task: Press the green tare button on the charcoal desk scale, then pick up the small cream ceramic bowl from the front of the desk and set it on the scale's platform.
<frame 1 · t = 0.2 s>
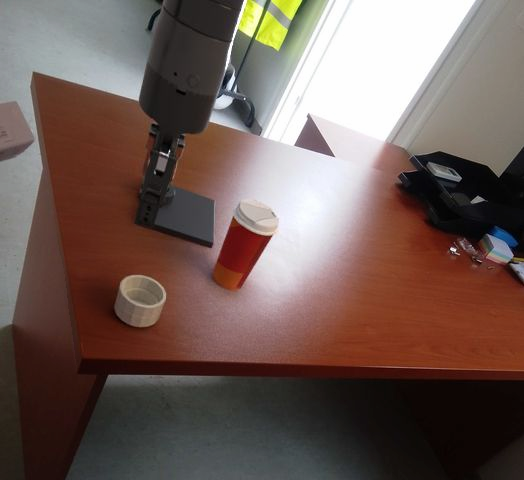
hand: (147, 206, 57), 15 cm above the table, tool pointing down, fingers open, 8 cm apart
scale: (177, 213, 86), on the table
bowl: (136, 313, 66), on the table
paper cup: (226, 279, 80), on the table
tare button: (159, 184, 84), point 3 cm above the table, slide at 0.1 cm
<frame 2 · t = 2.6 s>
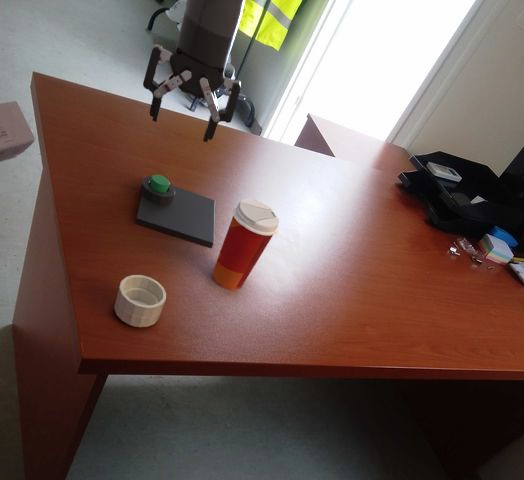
hand: (180, 130, 75), 15 cm above the table, tool pointing down, fingers open, 8 cm apart
nothing on the table moved.
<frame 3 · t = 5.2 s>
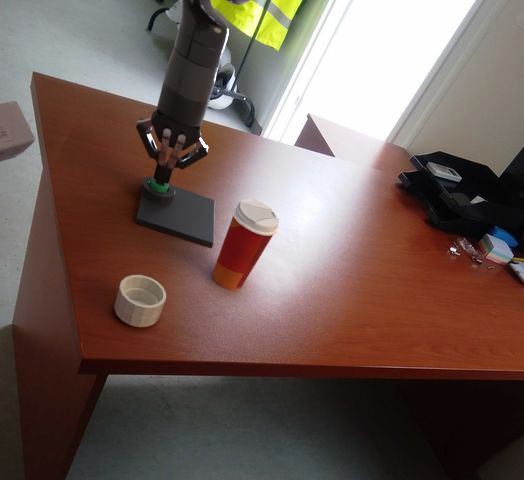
hand: (160, 182, 84), 4 cm above the table, tool pointing down, fingers closed
tare button: (158, 186, 84), point 3 cm above the table, slide at -0.4 cm, touching gripper
everything else where it was.
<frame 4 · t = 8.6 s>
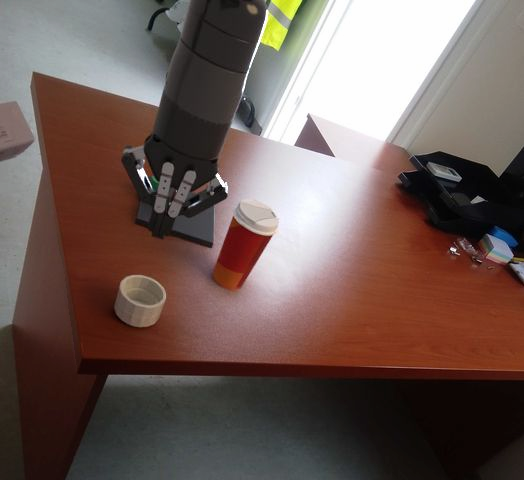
hand: (157, 234, 58), 13 cm above the table, tool pointing down, fingers closed
tare button: (159, 184, 84), point 3 cm above the table, slide at 0.1 cm
everything else where it was.
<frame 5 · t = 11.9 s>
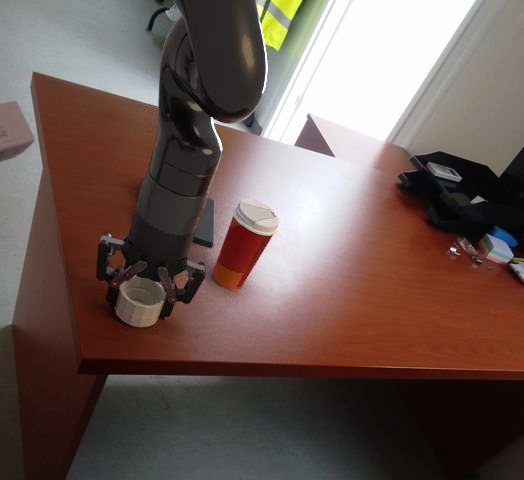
hand: (137, 309, 65), 1 cm above the table, tool pointing down, fingers closed on bowl, 6 cm apart
bowl: (136, 313, 66), on the table, touching gripper
everything else where it was.
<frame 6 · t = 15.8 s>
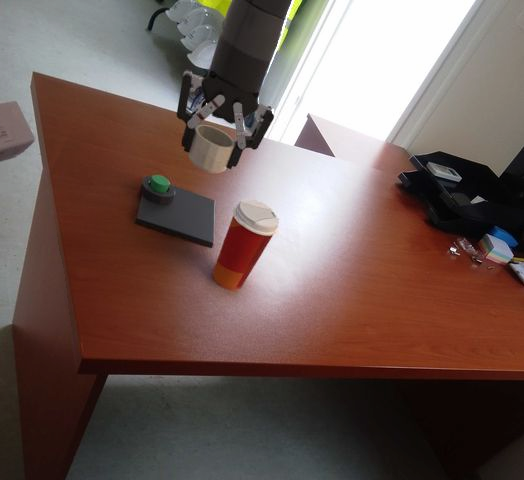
hand: (208, 158, 71), 16 cm above the table, tool pointing down, fingers closed on bowl, 6 cm apart
bowl: (206, 163, 72), point 15 cm above the table, touching gripper
everything else where it was.
when the fingers open (2 cm above the table, at t = 19.8 s): bowl stays where it is, resting on scale.
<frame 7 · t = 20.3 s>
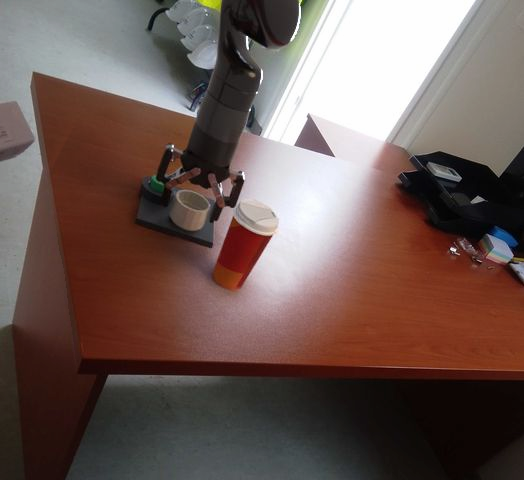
hand: (188, 212, 82), 3 cm above the table, tool pointing down, fingers open, 8 cm apart
bowl: (185, 221, 84), point 1 cm above the table, touching scale
everything else where it was.
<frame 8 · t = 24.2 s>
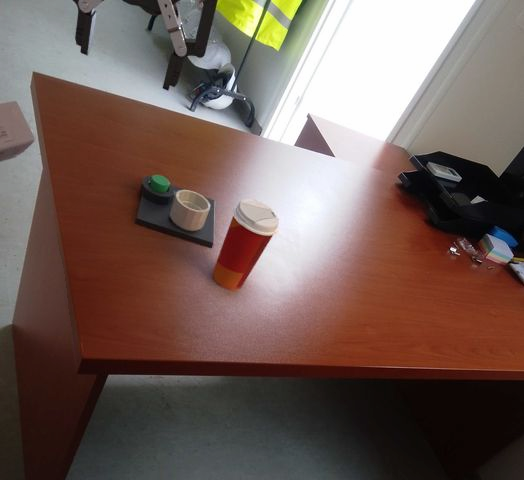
hand: (127, 70, 49), 28 cm above the table, tool pointing down, fingers open, 8 cm apart
nothing on the table moved.
at the end: tare button pushed in 1.0 cm at the most during the clip, back to where it started at the end; bowl inside the target area on the scale (2.2 cm from its centre), point 1.2 cm above the scale's base; bowl touching scale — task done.
